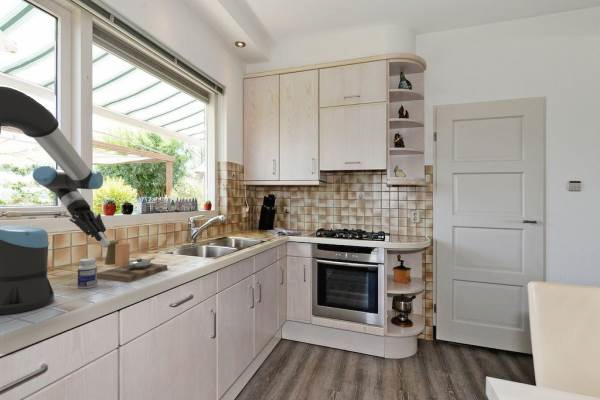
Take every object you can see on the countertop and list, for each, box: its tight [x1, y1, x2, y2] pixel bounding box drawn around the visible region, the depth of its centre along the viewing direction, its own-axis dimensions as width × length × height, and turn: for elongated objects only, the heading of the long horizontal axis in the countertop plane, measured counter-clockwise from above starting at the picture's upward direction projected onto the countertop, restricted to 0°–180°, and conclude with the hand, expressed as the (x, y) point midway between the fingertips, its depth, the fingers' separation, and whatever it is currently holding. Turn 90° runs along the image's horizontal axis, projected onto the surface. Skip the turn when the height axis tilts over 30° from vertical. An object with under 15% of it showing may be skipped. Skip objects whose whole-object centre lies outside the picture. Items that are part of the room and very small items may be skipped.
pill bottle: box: [77, 257, 98, 290], centre depth 105 cm, size 6×6×10 cm
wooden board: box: [97, 262, 168, 283], centre depth 124 cm, size 22×16×2 cm
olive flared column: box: [104, 240, 119, 266], centre depth 141 cm, size 6×6×11 cm
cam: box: [114, 242, 156, 269], centre depth 126 cm, size 20×9×12 cm, turn 166°
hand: (106, 245), depth 122 cm, fingers closed
